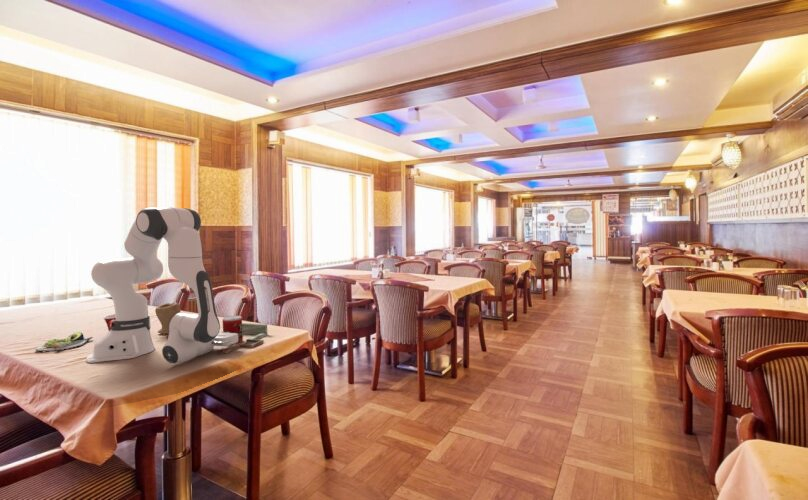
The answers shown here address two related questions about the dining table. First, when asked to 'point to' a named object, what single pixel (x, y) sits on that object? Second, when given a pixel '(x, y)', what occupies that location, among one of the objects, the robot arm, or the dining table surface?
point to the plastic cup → (108, 319)
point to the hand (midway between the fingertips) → (226, 333)
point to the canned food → (233, 326)
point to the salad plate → (65, 342)
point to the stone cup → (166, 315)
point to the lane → (251, 329)
